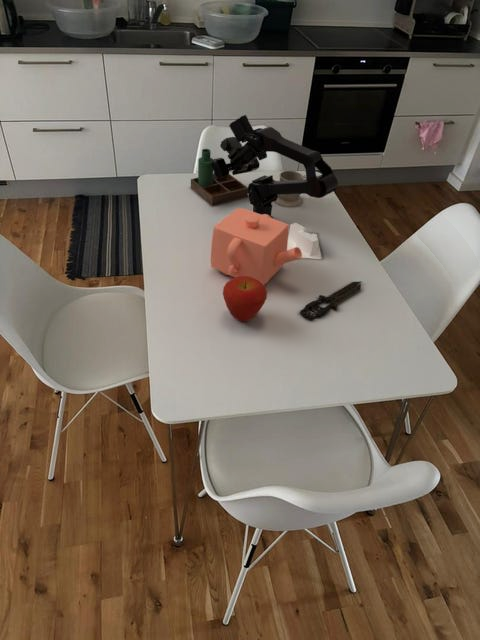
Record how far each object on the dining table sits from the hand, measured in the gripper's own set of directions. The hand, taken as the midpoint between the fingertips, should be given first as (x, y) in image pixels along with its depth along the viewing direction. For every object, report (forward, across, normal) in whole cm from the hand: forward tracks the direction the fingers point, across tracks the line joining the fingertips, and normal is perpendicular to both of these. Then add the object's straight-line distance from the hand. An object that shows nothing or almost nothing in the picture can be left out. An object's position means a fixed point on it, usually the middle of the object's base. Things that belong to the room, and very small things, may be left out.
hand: (223, 176), depth 178 cm
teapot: (-20, +21, +38) cm, 48 cm away
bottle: (+12, 0, -1) cm, 12 cm away
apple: (-26, +38, +48) cm, 67 cm away
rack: (+9, -3, +2) cm, 10 cm away
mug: (-6, -20, +18) cm, 27 cm away
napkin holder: (-19, -2, +35) cm, 40 cm away
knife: (-35, +12, +54) cm, 66 cm away
